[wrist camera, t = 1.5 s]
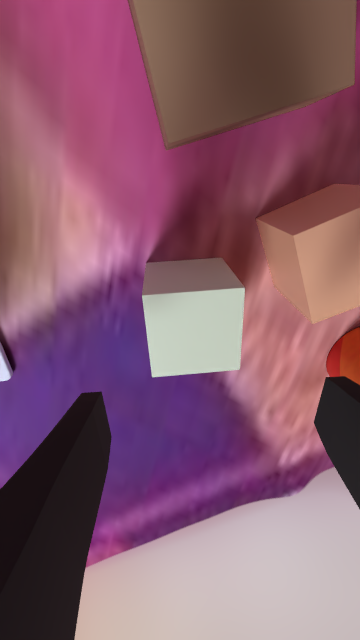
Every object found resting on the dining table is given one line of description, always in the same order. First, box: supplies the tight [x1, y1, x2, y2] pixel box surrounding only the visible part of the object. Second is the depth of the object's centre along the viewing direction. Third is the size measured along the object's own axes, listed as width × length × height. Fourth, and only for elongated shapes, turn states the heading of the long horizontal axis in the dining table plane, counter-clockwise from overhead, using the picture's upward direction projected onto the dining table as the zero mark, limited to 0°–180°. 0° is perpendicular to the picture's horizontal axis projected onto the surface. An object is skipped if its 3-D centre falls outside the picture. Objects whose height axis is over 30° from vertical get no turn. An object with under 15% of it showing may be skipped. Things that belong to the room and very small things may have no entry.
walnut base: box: [128, 0, 356, 150], centre depth 10 cm, size 7×7×4 cm
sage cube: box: [142, 257, 245, 377], centre depth 15 cm, size 4×4×5 cm
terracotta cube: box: [256, 184, 360, 324], centre depth 14 cm, size 4×4×5 cm
